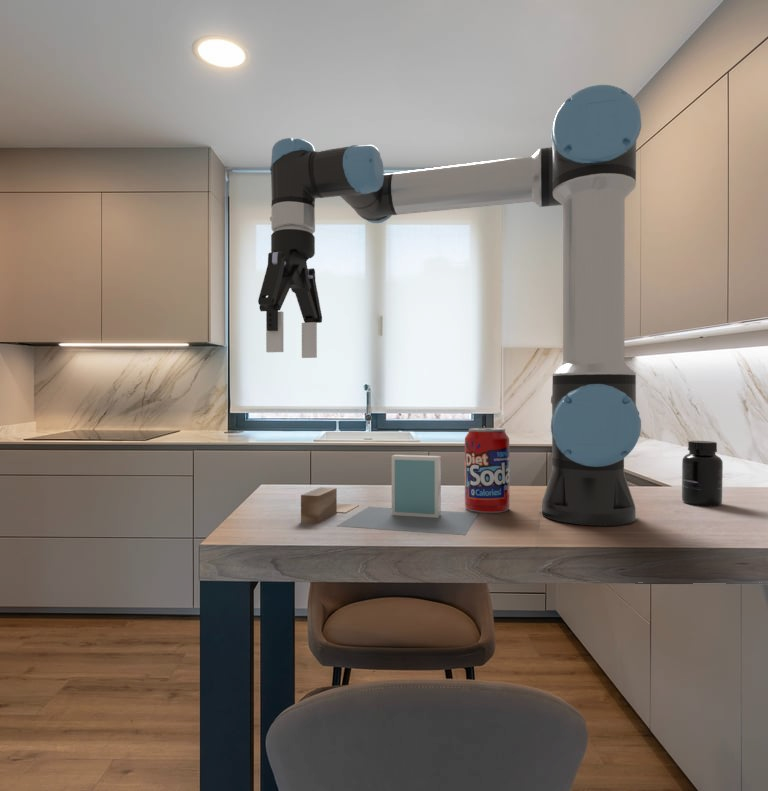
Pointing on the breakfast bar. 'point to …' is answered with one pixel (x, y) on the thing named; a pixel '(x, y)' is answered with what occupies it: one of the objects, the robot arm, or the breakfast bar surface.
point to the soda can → (487, 470)
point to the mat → (411, 521)
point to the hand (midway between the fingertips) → (293, 355)
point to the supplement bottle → (702, 474)
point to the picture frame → (416, 485)
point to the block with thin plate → (321, 505)
